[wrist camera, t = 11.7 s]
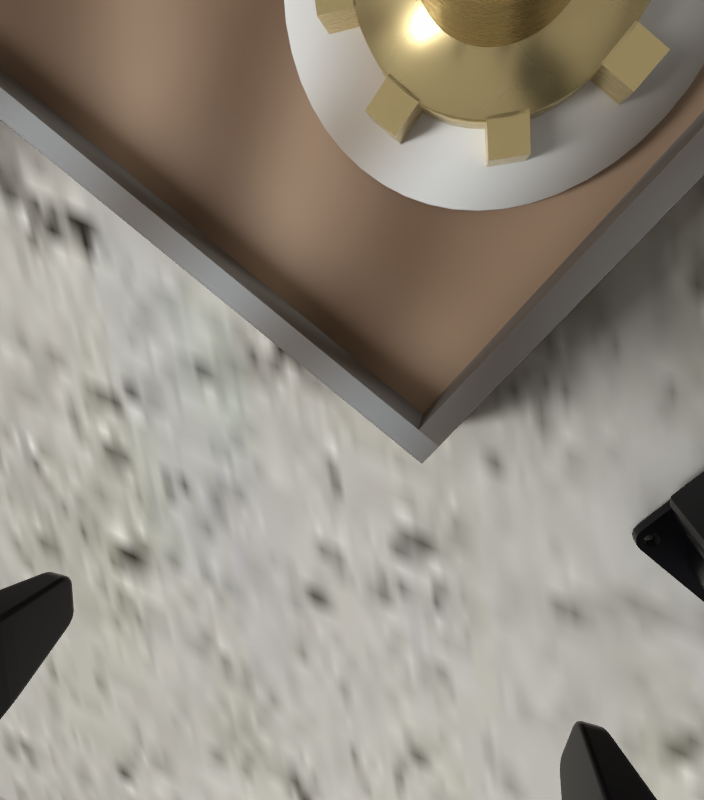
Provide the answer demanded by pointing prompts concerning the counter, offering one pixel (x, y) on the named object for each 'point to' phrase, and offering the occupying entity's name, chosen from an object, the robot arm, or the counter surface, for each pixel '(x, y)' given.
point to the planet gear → (495, 60)
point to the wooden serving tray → (350, 186)
